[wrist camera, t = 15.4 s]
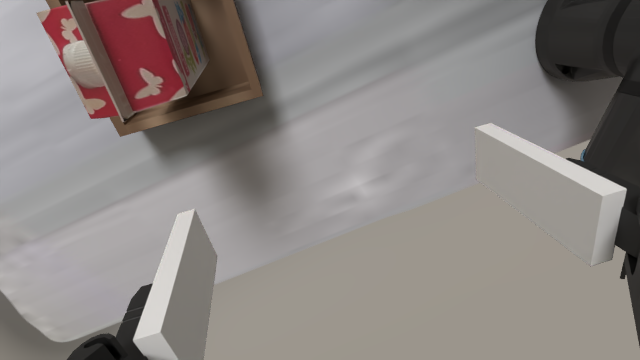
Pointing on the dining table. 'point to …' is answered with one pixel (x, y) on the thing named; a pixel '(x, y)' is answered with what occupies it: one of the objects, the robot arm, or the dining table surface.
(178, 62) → the juice carton
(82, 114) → the dining table surface
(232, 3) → the walled box
